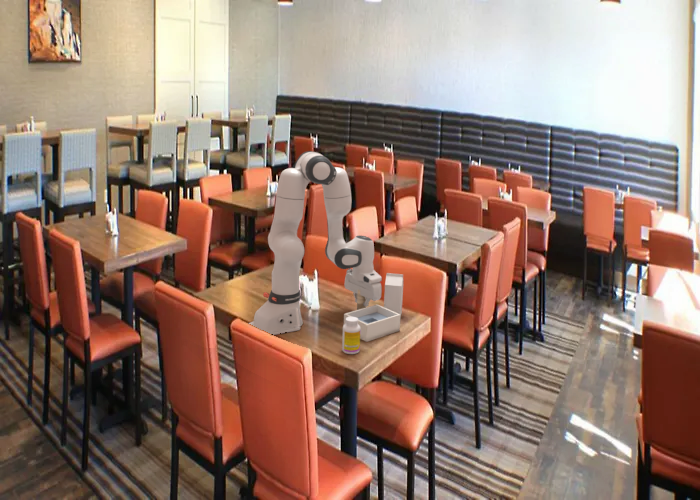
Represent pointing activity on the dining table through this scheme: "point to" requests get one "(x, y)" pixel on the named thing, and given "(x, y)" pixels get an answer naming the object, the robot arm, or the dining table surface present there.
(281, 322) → the robot arm
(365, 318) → the socket box
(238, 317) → the dining table surface
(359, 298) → the peg
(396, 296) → the milk carton
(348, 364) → the dining table surface
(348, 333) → the supplement bottle
